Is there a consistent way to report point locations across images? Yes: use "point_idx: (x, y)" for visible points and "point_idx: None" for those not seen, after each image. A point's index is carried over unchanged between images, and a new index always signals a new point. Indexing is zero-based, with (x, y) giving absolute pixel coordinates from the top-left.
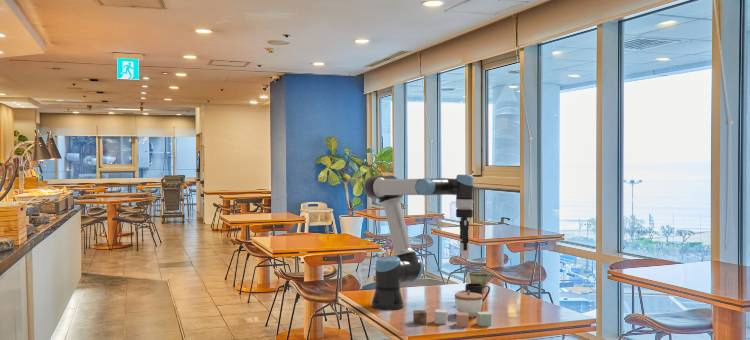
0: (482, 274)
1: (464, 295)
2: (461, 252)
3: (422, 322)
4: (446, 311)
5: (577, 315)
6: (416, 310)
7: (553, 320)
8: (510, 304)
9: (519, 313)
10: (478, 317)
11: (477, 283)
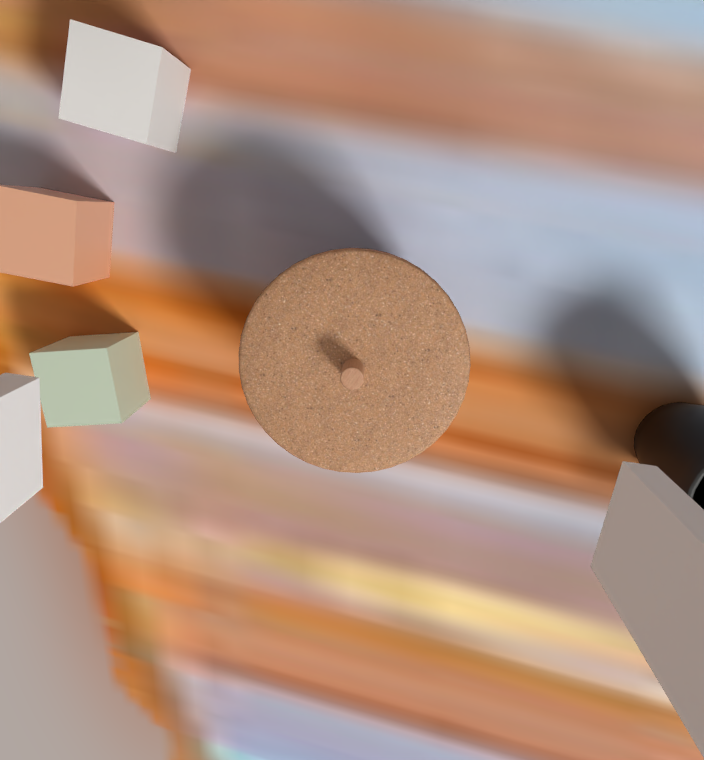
0: None
1: (309, 324)
2: (621, 503)
3: None
4: (92, 124)
5: None
6: None
7: (229, 724)
8: (630, 644)
9: (389, 624)
10: (72, 344)
11: None
